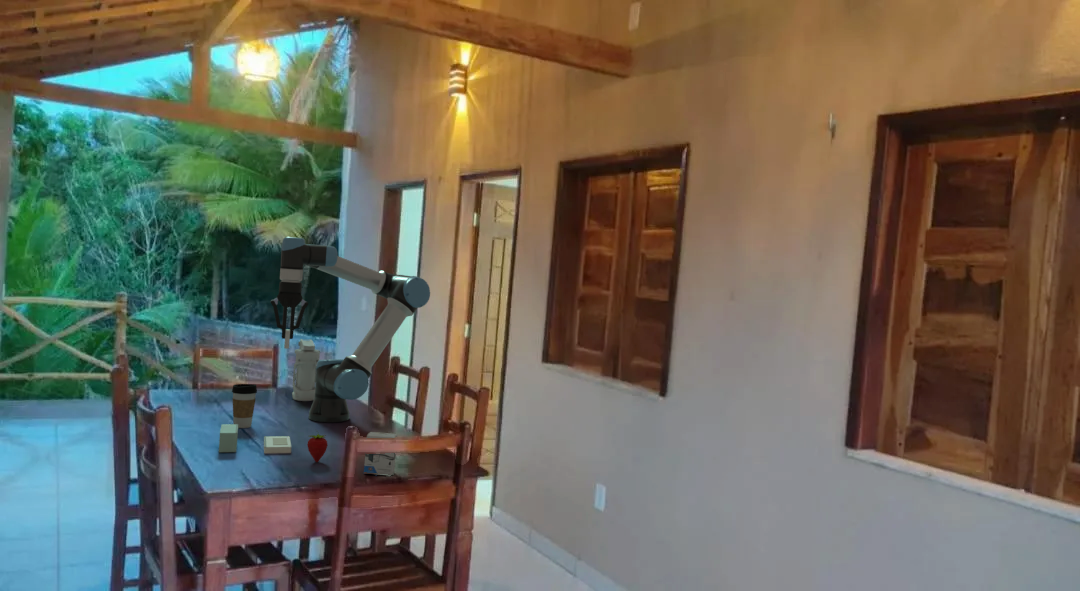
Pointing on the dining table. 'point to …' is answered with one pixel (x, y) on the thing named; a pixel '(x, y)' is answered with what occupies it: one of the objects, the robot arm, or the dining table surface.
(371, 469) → the ink box
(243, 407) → the coffee cup
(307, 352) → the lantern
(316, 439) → the strawberry
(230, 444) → the grey rectangular block
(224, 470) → the dining table surface
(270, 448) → the cream flat block
